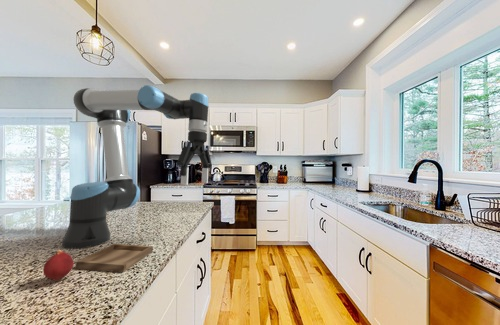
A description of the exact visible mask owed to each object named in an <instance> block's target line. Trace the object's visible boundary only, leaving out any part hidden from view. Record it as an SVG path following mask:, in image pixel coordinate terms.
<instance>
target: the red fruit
mask: <svg viewBox="0 0 500 325" xmlns="http://www.w3.org/2000/svg"><path fill="white" fill-rule="evenodd" d="M73 267H74V259H73V257H72V255H70V254H69V253H67V252H64V251H63V250H60V249H58V250H56V251H55V254H54V255H52V256H51V257H50V258H48V260H47V261H46V262H45V263H44V264H43V270H42V271H43V275H44V276H45V278H47V279H49V280H53V281H54V282H58V281H59V282H60V281H61V280H62V279H64V278H65V277H66V276H67V275H68V274H69V273H71V271H72V270H73Z"/></svg>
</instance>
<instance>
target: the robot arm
mask: <svg viewBox="0 0 500 325" xmlns="http://www.w3.org/2000/svg"><path fill="white" fill-rule="evenodd" d="M72 99H73V104H74V107H75V108H76V109H77V110H78V112H80V113H81V114H83V115H85V116H87V117H90V118H94V119H96V121H97V122H96V123H97V126H99V127H100V128H101V132H102V133H101V134H102V141H103V150H104V161H105V169H106V179H105V180H104V181H95V182H94V181H93V182H91V181H90V182H86V183H80V184H76V185H74V186H73V187H72V188H71V194H70V198H69V199H70V209H69V224H68V226H67V229H66V232H65V235H64V236H63V237H62V240H61V241H62V243H61V246H62V247H63V248H66V249H83V248H89V247H94V246H99V245H101V244H105V243H107V242H108V241H110V240H111V231H110V229H109V225H108V223H107V222H108V221H107V212H114V211H119V210H125V209H128V208H132V207H133V206H135V205H136V204H137V202H138V201H139V199H140V197H141V196H140V195H141V190H140V187H139V185H137V184H136V183H135V182H134V180H133V177H131V176H130V175H129V168H128V167H129V166H128V160H127V159H128V158H127V150H126V143H125V141H126V140H125V133H124V128H125V127H126V126H127V123H129V121H130V118H131V116H132V115H131V111H154V112H155V111H156V112H159V113H162V114H163V116H164V117H166V118H167V119H169V120H179V119H188V125H187V126H188V128H187V129H188V133H187V140H188V141H184V142H183V146H182V150H181V152H180V154H179V157H178V159H177V162H176V165H177V166H178V167H179V168H180V185H184V186H188V185H189V170H190V169H189V164H190V162H191V161H192V160H193V158H194V156H196V155H197V156H198V157H199V160H200V162H201V164H202V169H201V184H208V183H209V169H211V168H212V166H213V165H212V159H211V155H210V151H209V149H210V147H209V145H207V144H206V145H205V143H206V142H208V119H209V118H208V117H209V97H208V96H207V95H206V94H204V93H201V92H193V93H191V94H190V96H189V99H186V100H184V99H183V100H180V99H178V98H176V97H174V96H172V95H170V94H168V93H166V92H164V91H163V90H161V89H159V88H157V87H155V86H153V85H149V84H147V85H143V86H142V87H141V88H139V89H117V90H115V89H114V90H109V89H108V90H99V89H97V88H95V87H94V88H93V87H89V88H88V87H87V88H81V89H79V90H77V91H76V92H75V93H74V96H73V98H72Z"/></svg>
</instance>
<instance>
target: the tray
mask: <svg viewBox="0 0 500 325" xmlns="http://www.w3.org/2000/svg"><path fill="white" fill-rule="evenodd" d="M153 247H154V246H153V245H152V246H151V245H140V244H124V243H123V244H122V243H112V244H110V245H109V246H106V247H104V248H102V249H100V250H98V251H96V252H93V253H91V254H89V255H87V256H85V257H83V258H81V259H78V260H77V261H75V269H76V270H77V269H79V270H88V271H89V270H91V271H104V272H115V273H117V272H118V273H124V272H126V271H128V269H130V268H132V267H133V266H134V265H136V264H137V263H139V262H140V261H141V260H143V259H145V258H146V257H147V256H149V255H151V253H153V249H154V248H153Z"/></svg>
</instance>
